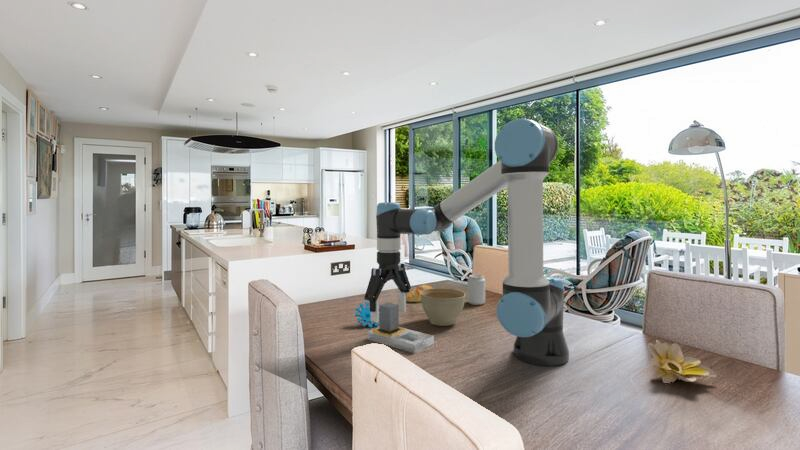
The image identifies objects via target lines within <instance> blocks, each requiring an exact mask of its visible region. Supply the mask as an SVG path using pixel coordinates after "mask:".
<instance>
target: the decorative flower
mask: <svg viewBox="0 0 800 450" xmlns="http://www.w3.org/2000/svg"><path fill="white" fill-rule="evenodd" d="M655 342H656V343H654V344H653V343H651V342H650V343H648V344H647V346H648V349H649V352H650V353H651V354H652V356H653V357H652V358H651V360H650V363H651V364H653V365H654V366H655V367H657V369H656V370H655V371H654V372H652V374H651V375H650V377H657V376H662V377H661V380H662V381H661V382H662V383H664V382H667V383H669V382H672V383H674V382H675V381H676V380H677V379H678V380H679V381H680V380H682V381H684V382H695V381H697V380H700V379H701V380H702V379H703V376H704V377H717V374H716V373H715V372H714V370H713V369H711V368H710V367H708V366H706V365H702V364H701V363H702V361H701V360H700V359H698V358H696V357H693V356H684V354H683V351H682V349H681V347H680V345H679V344H678V343H676V342H675V343H674V342H673V343H672V344H671V345H670V344H669V343H667V342H661V340H659V339H656V340H655ZM669 384H670V383H669Z"/></svg>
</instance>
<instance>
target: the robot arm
mask: <svg viewBox="0 0 800 450" xmlns="http://www.w3.org/2000/svg"><path fill="white" fill-rule="evenodd" d="M494 151H495V154H496V155H495V156H496V157H497V158H498V161H497V162H495V163H494V164H493V165H491V166H490V167H488V168H486V170H484V171H483V172H481V173H480V174H478V175H477V176H476V177H474V178H473V179H471V180H470V181H469V182H466V184H465V185H463V186H461V187H460V188H459V189H457V190H456V191H455V192H453V193H451V194H450V195H449V196H447V197H446V198H445V199H443V200H441V202H439V203H437V204H436V205H434V206H433V207H431V208H414V209H413V208H411V209H410V208H409V209H408V208H407V209H406V208H401V204H400V202H393V201H392V202H379V203H377V206H376V213H375V214H376V215H375V217H376V218H375V219H376V250H377V252H376V263H377V264H378V268H371V272H370V279H369V281H368V285H367V288H366V291H365V295H364V300H365V301H368V302H369V307H370V311H371V321H373V322H372V323H374V322H377V323H379V305H380V303H379V301H378V298H379V297H380V295H381V292H382V290H383V288H384V286H385V284H387V283H388V282H389V281H391V280H392V281H393V282H394V284H395V285H396V287H397V288H398V290H399V291H398V292H397V304H398V305H399V312H401V313H406V312H407V302H406V295H407V294H408V293H410V290H411V287H412V286H411V284H410V281H409V277H408V274H407V272H406V264H405V263H403V262H402V263H401V252H400V250H401V249H402V248H401V234H411V235H418V236H421V235H422V236H423V235H425V236H426V235H431V234H432V233H433V232H440V231H441V232H442V231H444V230H448V229H449V228H450V227H451V226H452V225H453V223H454V222H455V221H456V220H458V219H459V218H461V217H463V216H464V215H465V214H467V213H469V212H471V211H472V210H473V209H475V208H476V207H479V206H480V205H481V204H483V203H484V202H485V201H487V200H488V199H490V198H492V197H493V196H495V195H497V194H498V193H500V192H501V191H502V190H504V189H505V188H507V250H508V251H507V253H508V255H507V257H508V259H507V261H508V265H507V267H508V273H507V275H506V277H504V278H503V279H502V297H500V299H499V301H498V303H497V304H496V316H497V319H498V322H499V324H500V325H501V327H503V328H504V330H506V332H508V334H511V335H513V336H516V337H515V341H514V343H513V347H512V349H513V355H514V357H516V358H517V359H518V360H520V361H522V362H525V363H528V364H532V365H538V366H544V367H545V366H547V367H548V366H551V367H553V366H560V365H561V366H562V365H564V364H566V363H568V362H569V359H570V351H569V346H568V343H567V340H566V337H565V335H564V309H565V308H564V305H565V303H564V301H565V300H564V299H565V298H564V297H565V284H564V281H563V279H562V278H559V277H554V276H546V275H544V180H545V179H546V178H547V177H548V176H549V174H550V164H551V163H552V162H553V161H554V160H555V158H556V156H557V153H558V151H559V142H558V137H557V135H556V133H555V132H554V131H553V130H552V129H551V128H549V127H548V126H546V125H542V124H541V123H539V122H538V121H535V120H534V119H530V118H516V119H512V120H510V121H508V122H507V123H505V124H504V125H503V126H502V127H501V129H499V131H498V133H497V134H496V136H495V140H494ZM567 361H568V362H567Z"/></svg>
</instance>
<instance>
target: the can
mask: <svg viewBox="0 0 800 450" xmlns="http://www.w3.org/2000/svg"><path fill="white" fill-rule="evenodd" d="M468 276H469V277H468V278H467V300H466V301H467V302H468V303H469V304H470V305H473V306H480V305H483V304H485V303H486V279H485V277H484V275H482V274H470V275H468Z"/></svg>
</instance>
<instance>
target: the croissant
mask: <svg viewBox="0 0 800 450" xmlns="http://www.w3.org/2000/svg"><path fill="white" fill-rule="evenodd" d="M432 288H434V287H433V286H431V285H430V284H421V285H418V286H417V287H415V288H414V289H412V290H411V291H409V292H408V293H406V303H422V301H421V291H423V290H426V289H432Z"/></svg>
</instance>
